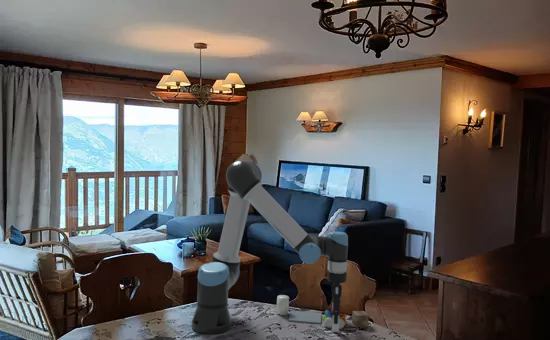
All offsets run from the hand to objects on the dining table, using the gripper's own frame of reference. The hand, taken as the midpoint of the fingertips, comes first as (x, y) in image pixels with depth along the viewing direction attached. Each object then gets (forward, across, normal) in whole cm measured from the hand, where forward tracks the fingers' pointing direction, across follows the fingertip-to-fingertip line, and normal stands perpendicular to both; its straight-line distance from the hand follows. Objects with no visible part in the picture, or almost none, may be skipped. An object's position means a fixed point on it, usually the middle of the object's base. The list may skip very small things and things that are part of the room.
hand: (335, 325), depth 174 cm
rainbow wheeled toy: (+1, 0, 0) cm, 1 cm away
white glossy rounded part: (0, +9, +22) cm, 24 cm away
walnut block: (0, +3, -10) cm, 10 cm away
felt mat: (0, +6, +12) cm, 14 cm away
